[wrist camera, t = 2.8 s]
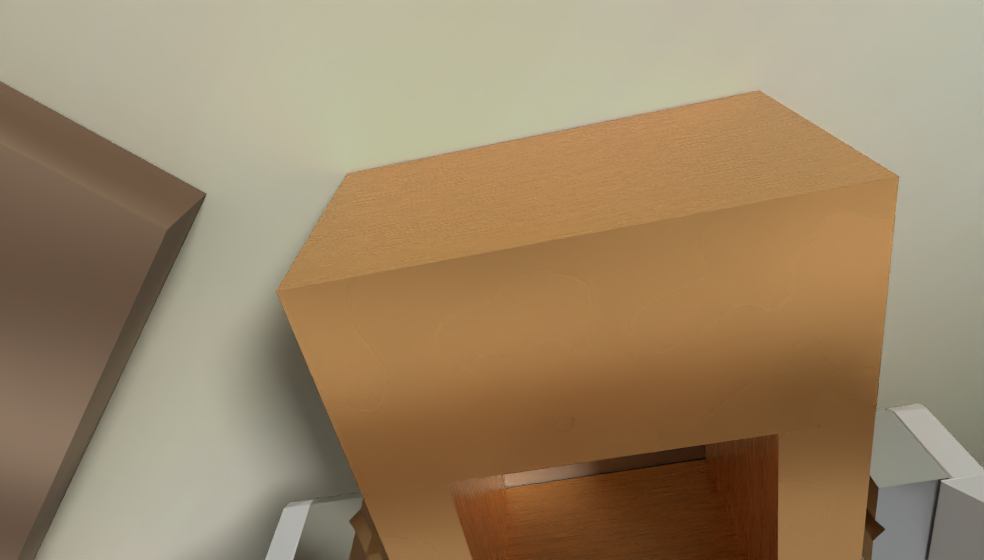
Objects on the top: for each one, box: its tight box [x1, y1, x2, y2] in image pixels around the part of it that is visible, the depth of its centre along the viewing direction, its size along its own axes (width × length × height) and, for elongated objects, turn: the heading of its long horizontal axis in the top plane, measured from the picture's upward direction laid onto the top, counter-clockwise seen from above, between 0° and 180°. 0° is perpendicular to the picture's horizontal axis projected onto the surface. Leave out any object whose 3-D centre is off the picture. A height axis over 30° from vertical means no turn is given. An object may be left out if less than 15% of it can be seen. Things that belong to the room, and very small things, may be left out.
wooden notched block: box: [276, 91, 899, 560], centre depth 12 cm, size 12×7×4 cm, turn 12°
